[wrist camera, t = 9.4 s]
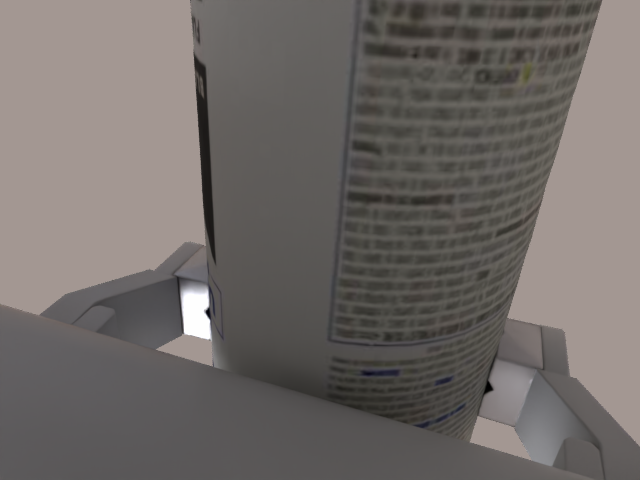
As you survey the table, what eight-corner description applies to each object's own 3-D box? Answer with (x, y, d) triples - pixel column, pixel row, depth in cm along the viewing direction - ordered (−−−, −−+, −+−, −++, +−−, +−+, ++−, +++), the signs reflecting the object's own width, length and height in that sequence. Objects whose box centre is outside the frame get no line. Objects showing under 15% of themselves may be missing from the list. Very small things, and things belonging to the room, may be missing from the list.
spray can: (30, -417, 5) (179, 594, 16) (836, -527, 4) (403, 704, 14) (293, -242, 11) (275, 425, 21) (666, -247, 9) (446, 488, 19)
